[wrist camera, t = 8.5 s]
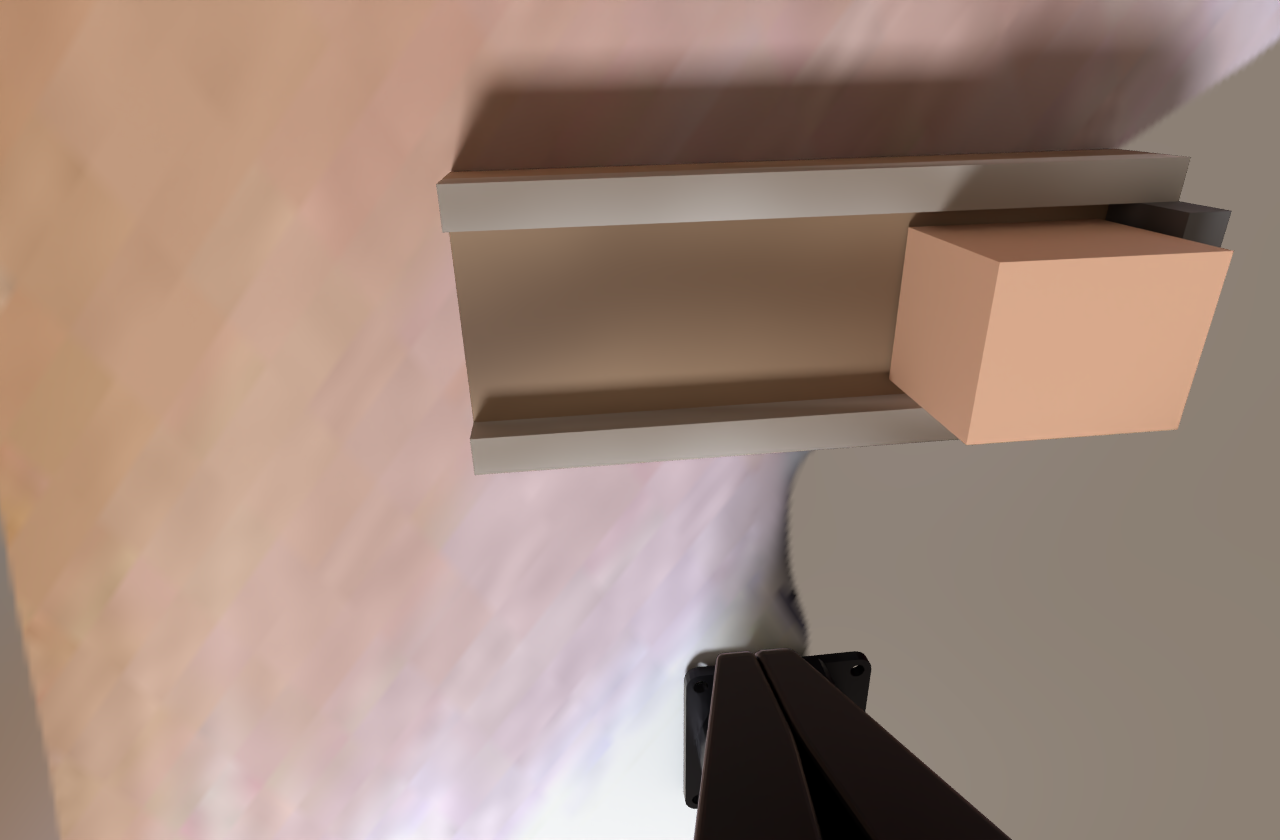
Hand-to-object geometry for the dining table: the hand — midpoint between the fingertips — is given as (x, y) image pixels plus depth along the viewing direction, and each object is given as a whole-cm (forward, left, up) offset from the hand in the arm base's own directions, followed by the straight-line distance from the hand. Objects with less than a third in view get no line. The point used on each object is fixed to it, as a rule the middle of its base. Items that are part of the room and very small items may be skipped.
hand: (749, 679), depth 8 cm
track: (+1, -5, -13) cm, 14 cm away
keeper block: (+1, -9, -12) cm, 15 cm away
